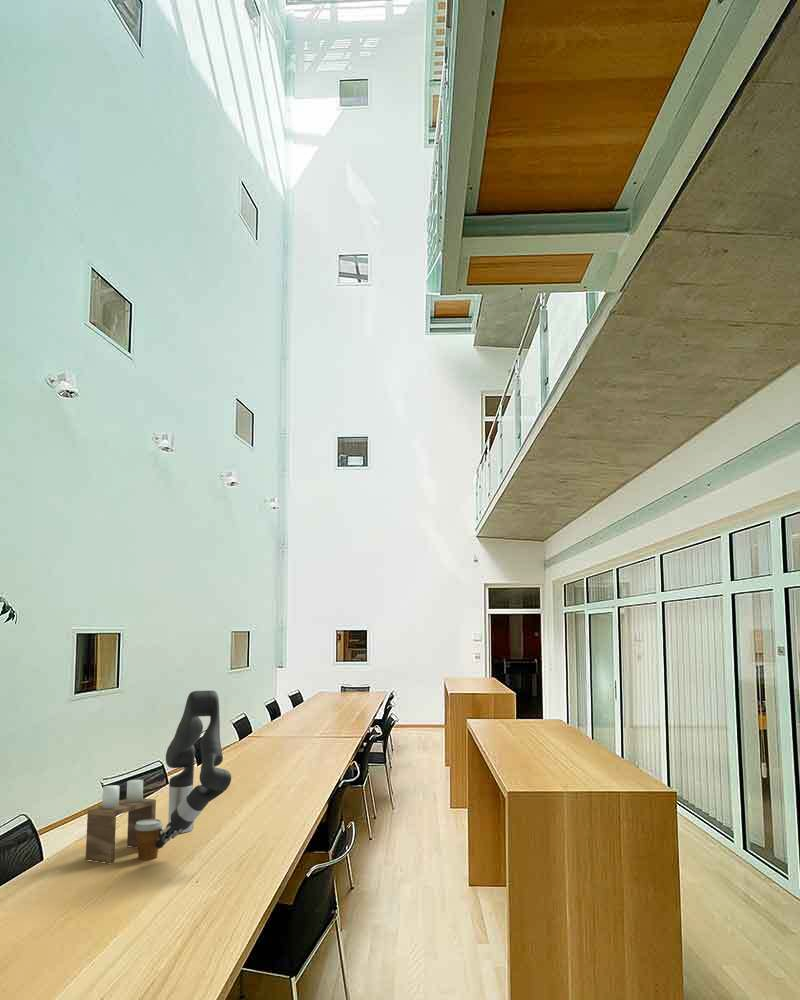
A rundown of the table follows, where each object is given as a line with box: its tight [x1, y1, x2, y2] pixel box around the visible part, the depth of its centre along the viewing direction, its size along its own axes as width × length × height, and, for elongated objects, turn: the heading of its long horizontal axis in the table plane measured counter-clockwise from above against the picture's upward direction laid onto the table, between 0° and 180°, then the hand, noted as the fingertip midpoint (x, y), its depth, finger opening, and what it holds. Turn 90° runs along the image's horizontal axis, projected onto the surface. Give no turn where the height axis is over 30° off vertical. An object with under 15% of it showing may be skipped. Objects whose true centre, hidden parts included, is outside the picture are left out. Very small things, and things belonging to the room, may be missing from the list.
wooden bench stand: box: [85, 797, 157, 864], centre depth 296 cm, size 22×11×17 cm, turn 155°
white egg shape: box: [126, 779, 144, 803], centre depth 303 cm, size 6×6×7 cm
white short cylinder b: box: [101, 784, 121, 809], centre depth 292 cm, size 6×6×7 cm
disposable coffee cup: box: [135, 818, 164, 861], centre depth 291 cm, size 10×10×12 cm
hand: (158, 846), depth 289 cm, fingers closed
